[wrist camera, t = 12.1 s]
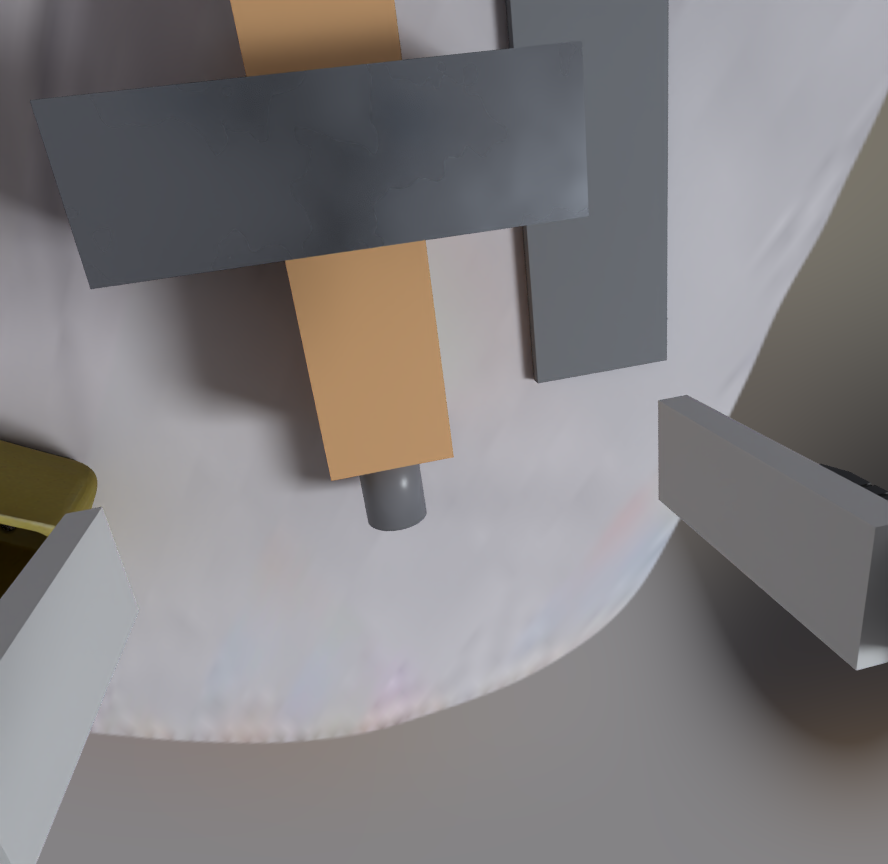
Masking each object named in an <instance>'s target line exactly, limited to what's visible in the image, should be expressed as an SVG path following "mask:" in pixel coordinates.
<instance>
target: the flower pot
mask: <svg viewBox="0 0 888 864" xmlns="http://www.w3.org/2000/svg"><path fill="white" fill-rule="evenodd" d="M96 490H97V478H96V475H95V473H94V472H93V470H92V469H90V468H89V467H88V466H86V465H84V464H82V463H80V462H78V461H75V460H72V459H68V458H64V457H60V456H56V455H52V454H49V453H45V452H41V451H38V450H34V449H30V448H27V447H23V446H20V445H16V444H12V443H9V442H5V441H2V440H0V599H1V597H2V596H3V595H4V594H5V592H6V591H7V590H8V588H9V587H10V586H11V584H12V583H13V582H14V580H15V579H16V578H17V577H18V575H19V574H20V573H21V571H22V570H23V569H24V567H25V566H26V565H27V563H28V562H29V561H30V560H31V558H32V557H33V556H34V554H35V553H36V552H37V550H38V549H39V548H40V546H41V545H42V544H43V542H44V541H45V540H46V539H47V537H48V536H49V535H50V533H51V532H52V531H53V529H54V528H55V527H56V525H57V524H58V523H59V522H60V520H61V519H62V518H63V516H64V515H65V514H67V513H72V512H77V511H83V510H88V509H91V508H92V505H93V501H94V498H95V495H96ZM2 524H4V525H9V526H13V527H15V528H14V529H13V530H11V531H7V530H5V529H3V527H2Z"/></svg>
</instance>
